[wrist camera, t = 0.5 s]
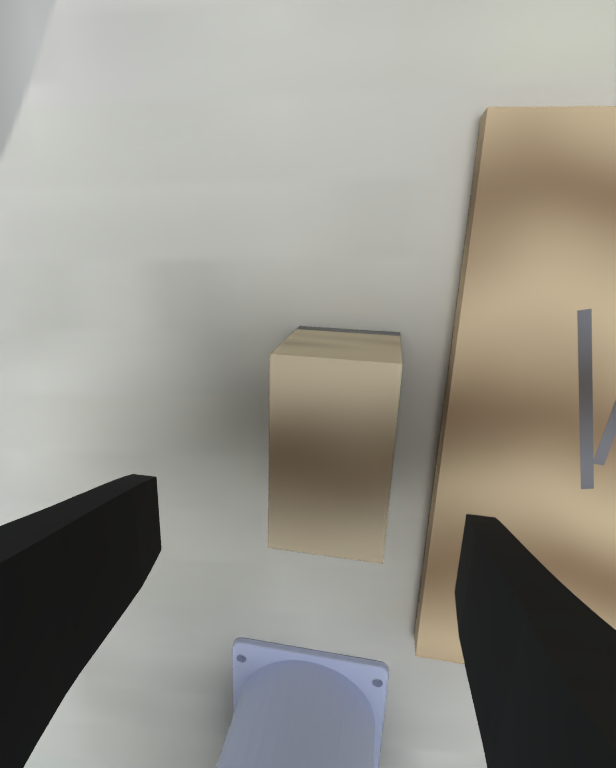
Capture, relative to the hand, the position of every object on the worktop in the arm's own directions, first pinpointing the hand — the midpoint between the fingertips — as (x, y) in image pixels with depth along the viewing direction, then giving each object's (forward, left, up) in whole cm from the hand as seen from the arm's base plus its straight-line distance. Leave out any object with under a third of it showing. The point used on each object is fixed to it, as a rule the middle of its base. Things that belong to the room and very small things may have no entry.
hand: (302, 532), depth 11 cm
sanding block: (0, 0, -10) cm, 10 cm away
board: (0, -10, -9) cm, 14 cm away
